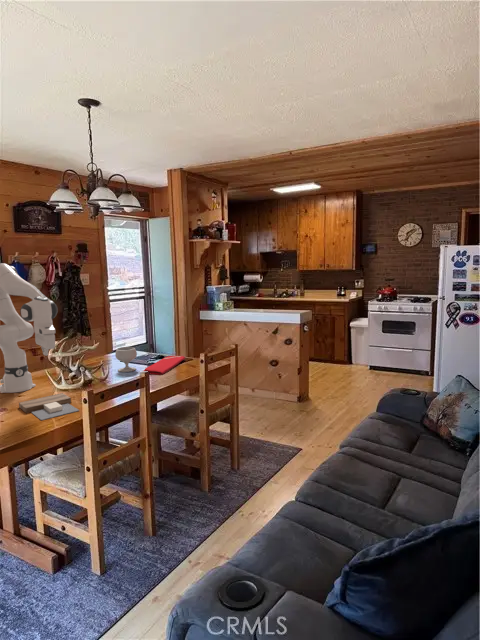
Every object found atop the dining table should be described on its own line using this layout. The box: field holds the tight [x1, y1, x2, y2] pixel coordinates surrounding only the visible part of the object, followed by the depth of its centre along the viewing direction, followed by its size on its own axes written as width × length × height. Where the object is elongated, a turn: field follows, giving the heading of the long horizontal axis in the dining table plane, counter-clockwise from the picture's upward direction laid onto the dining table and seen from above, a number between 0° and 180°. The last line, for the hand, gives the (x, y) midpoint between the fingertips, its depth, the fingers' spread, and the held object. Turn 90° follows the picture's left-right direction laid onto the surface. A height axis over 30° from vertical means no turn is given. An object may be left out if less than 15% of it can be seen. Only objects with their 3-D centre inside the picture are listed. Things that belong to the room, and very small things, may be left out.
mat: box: [30, 403, 80, 421], centre depth 213 cm, size 15×18×1 cm
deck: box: [18, 392, 72, 414], centre depth 223 cm, size 12×22×2 cm, turn 132°
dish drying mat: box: [143, 355, 186, 376], centre depth 298 cm, size 16×41×4 cm, turn 166°
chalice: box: [115, 346, 138, 373], centre depth 290 cm, size 14×14×15 cm
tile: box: [44, 402, 63, 413], centre depth 216 cm, size 9×6×2 cm, turn 42°
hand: (45, 355), depth 222 cm, fingers closed
